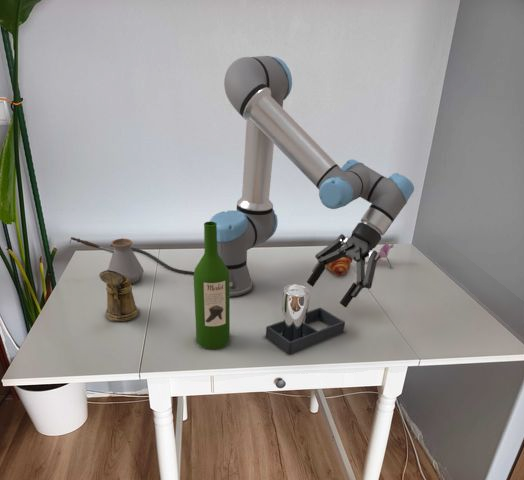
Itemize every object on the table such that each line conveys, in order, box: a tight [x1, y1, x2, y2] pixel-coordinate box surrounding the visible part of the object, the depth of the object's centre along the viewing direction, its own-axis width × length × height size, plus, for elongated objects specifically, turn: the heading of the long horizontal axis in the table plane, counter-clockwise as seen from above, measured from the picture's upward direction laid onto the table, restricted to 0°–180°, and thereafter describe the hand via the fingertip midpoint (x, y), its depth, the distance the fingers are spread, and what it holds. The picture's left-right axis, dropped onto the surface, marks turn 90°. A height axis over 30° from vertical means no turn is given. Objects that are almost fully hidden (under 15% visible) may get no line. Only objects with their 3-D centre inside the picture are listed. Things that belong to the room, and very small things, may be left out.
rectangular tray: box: [265, 307, 346, 355], centre depth 138 cm, size 10×20×4 cm, turn 127°
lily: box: [366, 240, 399, 268], centre depth 180 cm, size 12×12×10 cm
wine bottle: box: [193, 221, 231, 350], centre depth 126 cm, size 9×9×32 cm
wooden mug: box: [98, 269, 139, 323], centre depth 138 cm, size 9×14×18 cm, turn 2°
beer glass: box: [281, 284, 310, 342], centre depth 132 cm, size 7×7×15 cm
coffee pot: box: [69, 236, 144, 284], centre depth 159 cm, size 21×12×15 cm, turn 100°
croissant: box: [325, 249, 354, 276], centre depth 177 cm, size 21×10×8 cm, turn 1°
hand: (325, 294), depth 137 cm, fingers open, 13 cm apart
